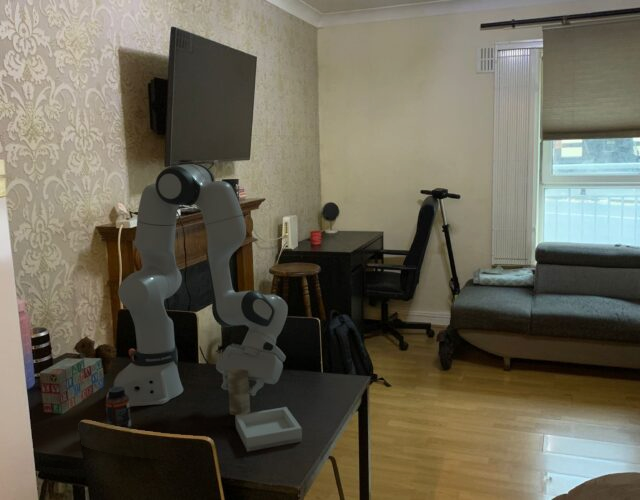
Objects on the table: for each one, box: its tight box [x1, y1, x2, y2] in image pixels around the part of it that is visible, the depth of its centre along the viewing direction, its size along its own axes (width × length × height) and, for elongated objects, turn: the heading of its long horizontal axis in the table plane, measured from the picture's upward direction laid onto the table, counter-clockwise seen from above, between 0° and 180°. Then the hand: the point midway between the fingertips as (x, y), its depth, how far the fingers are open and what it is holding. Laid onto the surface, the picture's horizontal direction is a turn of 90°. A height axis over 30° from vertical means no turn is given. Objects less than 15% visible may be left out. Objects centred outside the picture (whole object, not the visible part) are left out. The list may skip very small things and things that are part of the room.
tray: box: [234, 406, 303, 452], centre depth 158 cm, size 14×14×4 cm
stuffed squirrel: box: [70, 336, 117, 374], centre depth 205 cm, size 10×14×13 cm
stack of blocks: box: [39, 357, 105, 415], centre depth 185 cm, size 21×6×12 cm, turn 167°
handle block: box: [228, 369, 251, 416], centre depth 171 cm, size 4×4×12 cm
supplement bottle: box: [105, 386, 132, 429], centre depth 163 cm, size 6×6×11 cm
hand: (237, 391), depth 171 cm, fingers open, 8 cm apart
